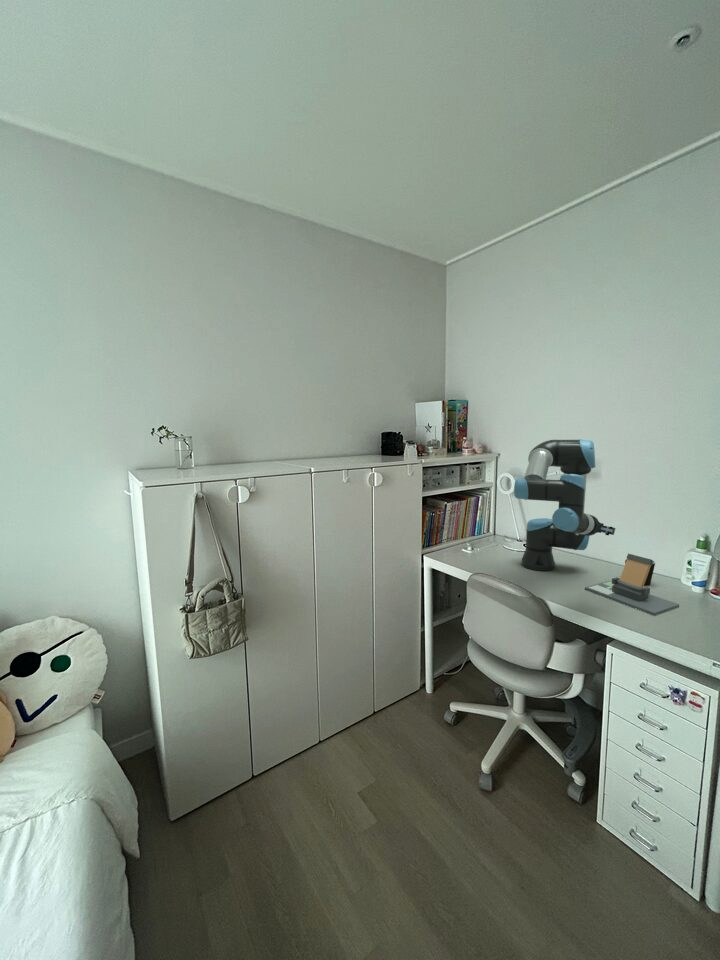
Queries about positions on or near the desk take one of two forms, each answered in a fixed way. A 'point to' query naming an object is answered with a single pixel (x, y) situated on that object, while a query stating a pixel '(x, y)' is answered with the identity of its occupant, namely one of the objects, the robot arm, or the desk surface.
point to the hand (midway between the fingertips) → (612, 531)
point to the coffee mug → (649, 577)
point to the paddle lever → (635, 572)
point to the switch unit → (632, 597)
